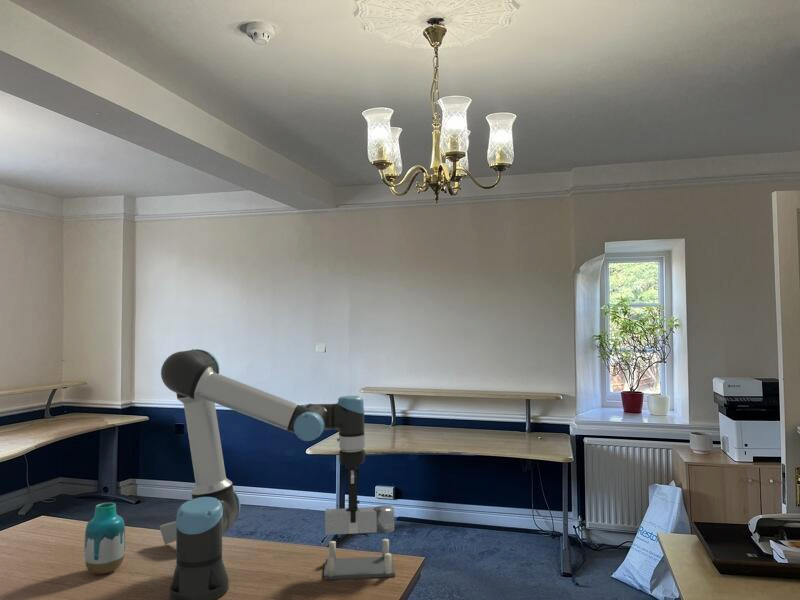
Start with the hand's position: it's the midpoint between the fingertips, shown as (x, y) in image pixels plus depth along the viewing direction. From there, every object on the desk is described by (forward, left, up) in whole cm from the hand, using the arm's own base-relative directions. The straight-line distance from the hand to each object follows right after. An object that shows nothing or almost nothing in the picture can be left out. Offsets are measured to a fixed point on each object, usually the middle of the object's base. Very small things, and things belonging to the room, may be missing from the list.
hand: (353, 529), depth 170 cm
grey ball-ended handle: (+2, 0, 0) cm, 2 cm away
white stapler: (-61, +25, -10) cm, 66 cm away
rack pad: (+2, 0, -11) cm, 11 cm away
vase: (-72, +6, -12) cm, 74 cm away
